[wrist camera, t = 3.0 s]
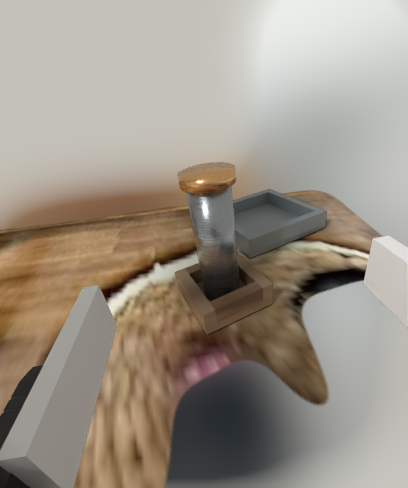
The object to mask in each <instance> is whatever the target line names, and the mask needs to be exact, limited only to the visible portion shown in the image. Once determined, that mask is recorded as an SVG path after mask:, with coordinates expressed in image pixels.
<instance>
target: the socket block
mask: <svg viewBox="0 0 408 488" xmlns="http://www.w3.org/2000/svg"><path fill="white" fill-rule="evenodd" d="M237 257H238V268H239V280H240V289H237V290H235V291H233V292H231V293H228V294H226V295H224V296H222V297H219V298H217V299H215V300H212V301H210V300H209V299H208V298H207V297H206V296H205V293H204V288H203V282H202V277H201V271H200V265H199V263H198V264H195V265H193V266H190V267H187V268H185V269H182V270H180V271H177V272H175V274H176V278H177V282H178V286H179V290H180V292H181V293H182V295H183V297H184V298H185V300H186V301H187V303H188V305H189V306H190V308H191V310H192V311H193V313H194V314H195V316H196V318H197V319H198V321H199V323H200V324H201V326H202V328H203V329H204V331H205V332H206V334H207V335H208V334H210V333H212V332H214V331H216V330H218V329H220V328H222V327H225V326H227V325H229V324H231V323H233V322H235V321H237V320H239V319H241V318H243V317H245V316H247V315H249V314H251V313H254V312H256V311H258V310H260V309H262V308H264V307H266V306H268V305H270V304H272V303H273V283H272V282H271V281H270V280H268V279H267V278H266V277H265V276H264V275H262V274H261V273H260V272H259V271H258V270H256V269H255V268H254V267H253V266H252V265H250V264H249V263H248V262H247V261H246V260H245V259H243V258H242V257H241V256H240V255H239V254H237Z"/></svg>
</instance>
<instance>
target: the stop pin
mask: <svg viewBox="0 0 408 488" xmlns="http://www.w3.org/2000/svg"><path fill="white" fill-rule="evenodd" d="M235 173H236V172H235V166H234V165H233V164H230V163H222V162H218V163H207V164H200V165H196V166H192V167H189V168H186V169H184V170H182V171H181V172H179V173H178V179H179V184H180V188H181V190H182V191H185V192H186V193H187V199H188V205H189V210H190V216H191V221H192V227H193V232H194V238H195V243H196V249H197V254H198V260H199V265H200V271H201V277H202V282H203V288H204V293H205V296H206V297H207V298H208V299H209V300H210V301H212V300H215V299H217V298H219V297H222V296H224V295H226V294H228V293H231V292H233V291H235V290H237V289H240V280H239V268H238V257H237V245H236V233H235V222H234V210H233V199H232V187H231V186H232V185H233V184H234V183H235V182H236V174H235Z"/></svg>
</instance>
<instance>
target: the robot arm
mask: <svg viewBox="0 0 408 488" xmlns="http://www.w3.org/2000/svg"><path fill="white" fill-rule="evenodd" d="M363 284H364V285H365V286H366V287H367V288H368V289H369V290H370V291H371V292H372V293H373V294H374V295H375V296H376V297H377V298H378V299H379V300H380V301H381V302H382V303H383V304H384V305H385V306H386V307H387V308H388V309H389V310H390V311H391V312H392V313H393V314H394V315H395V316H396V317H397V318H398V319H399V320H400V321H401V322H402V323H403V324H404V325H405V326H406V327H407V328H408V248H407V247H405V246H404V245H402V244H401V243H399V242H397V241H396V240H395V239H393V238H391V237H390V236H386V237H379V238H373V241H372V246H371V251H370V255H369V260H368V264H367V269H366V274H365V278H364V283H363ZM116 328H117V325H116V322H115V320H114V318H113V316H112V314H111V311H110V309H109V307H108V305H107V302H106V300H105V298H104V296H103V294H102V291H101V289H100V287H99V285H97V286H91V287H86V288H82V290H81V292H80V294H79V296H78V298H77V300H76V302H75V304H74V306H73V308H72V310H71V312H70V314H69V316H68V318H67V320H66V322H65V324H64V326H63V328H62V330H61V332H60V334H59V336H58V338H57V340H56V342H55V344H54V346H53V348H52V350H51V351H50V353H49V355H48V357H47V359H46V361H45V363H44V365H42V366H36V367H33V368H32V369H31V370H30V371H29V372H28V373H27V374H26V375H25V376H24V377H23V378H22V380H21V381H20V382H19V384H18V386H17V387H16V389H15V391H14V393H13V395H12V396H11V400H9V402H8V403H7V405H6V407H5V409H4V413H3V414H1V416H0V488H73V487H74V484H75V480H76V476H77V473H78V469H79V465H80V462H81V458H82V454H83V450H84V447H85V443H86V439H87V436H88V432H89V428H90V424H91V421H92V417H93V413H94V410H95V406H96V402H97V399H98V395H99V391H100V387H101V384H102V380H103V376H104V373H105V369H106V365H107V362H108V358H109V354H110V350H111V347H112V343H113V339H114V336H115V332H116Z"/></svg>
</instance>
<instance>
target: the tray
mask: <svg viewBox="0 0 408 488" xmlns="http://www.w3.org/2000/svg"><path fill="white" fill-rule="evenodd" d="M233 210H234V222H235V233H236V245H237V248H239V249H240V250H241V251H242V252H244V253H245V254H246V255H247V256H249V257H250V258H252V257H254V256H256V255H259V254H261V253H264V252H266V251H269V250H271V249H274V248H276V247H279V246H281V245H284V244H286V243H289V242H291V241H294V240H296V239H299V238H301V237H304V236H306V235H308V234H311V233H313V232H316V231H318V230H321V229H323V228H325V223H326V214H327V211H326V210H323V209H320V208H318V207H315V206H313V205H310V204H307V203H305V202H302V201H299V200H297V199H294V198H292V197H289V196H286V195H284V194H281V193H278V192H276V191H273V190H270V189H268V190H265V191H261V192H259V193H255V194H252V195H249V196H246V197H242V198H239V199H236V200H233Z"/></svg>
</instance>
